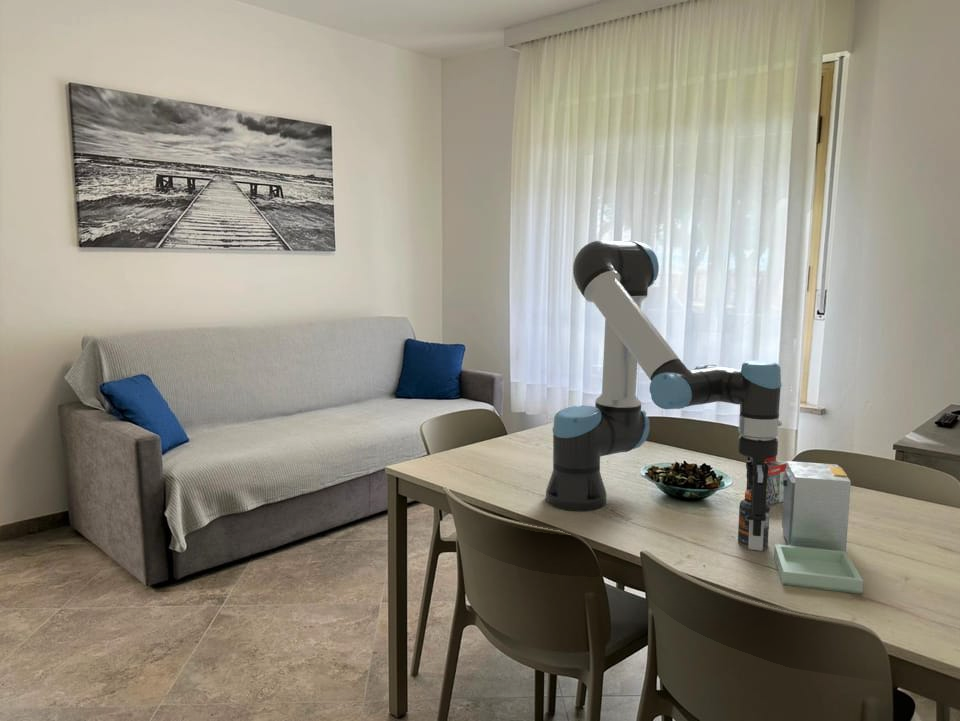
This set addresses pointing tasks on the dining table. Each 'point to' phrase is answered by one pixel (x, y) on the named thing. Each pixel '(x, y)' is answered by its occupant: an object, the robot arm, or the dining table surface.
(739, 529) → the pill bottle
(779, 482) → the ink box
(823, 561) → the tray
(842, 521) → the unit
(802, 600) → the dining table surface
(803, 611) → the dining table surface
